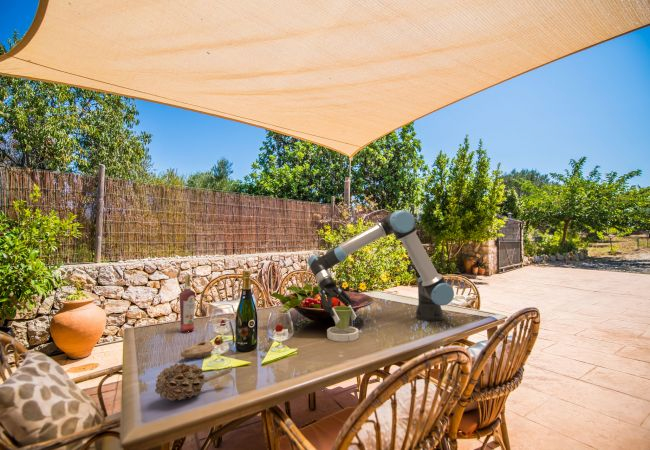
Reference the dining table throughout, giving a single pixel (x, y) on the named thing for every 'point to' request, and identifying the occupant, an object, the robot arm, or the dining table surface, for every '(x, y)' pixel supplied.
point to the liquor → (187, 307)
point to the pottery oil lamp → (198, 350)
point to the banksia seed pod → (183, 381)
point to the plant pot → (343, 316)
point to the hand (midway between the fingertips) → (346, 320)
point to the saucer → (343, 334)
